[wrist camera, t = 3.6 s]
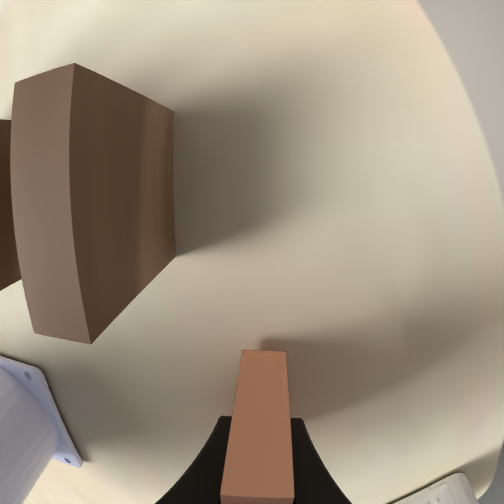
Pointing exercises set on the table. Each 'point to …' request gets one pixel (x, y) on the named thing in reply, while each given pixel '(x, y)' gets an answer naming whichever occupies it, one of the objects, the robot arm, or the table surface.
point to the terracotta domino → (260, 434)
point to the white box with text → (444, 492)
